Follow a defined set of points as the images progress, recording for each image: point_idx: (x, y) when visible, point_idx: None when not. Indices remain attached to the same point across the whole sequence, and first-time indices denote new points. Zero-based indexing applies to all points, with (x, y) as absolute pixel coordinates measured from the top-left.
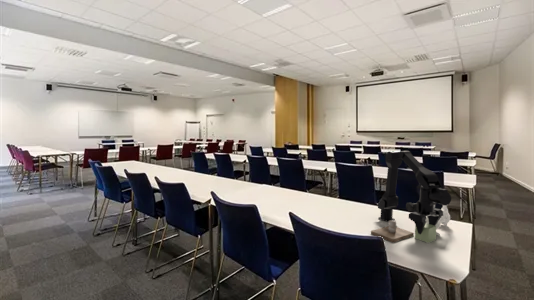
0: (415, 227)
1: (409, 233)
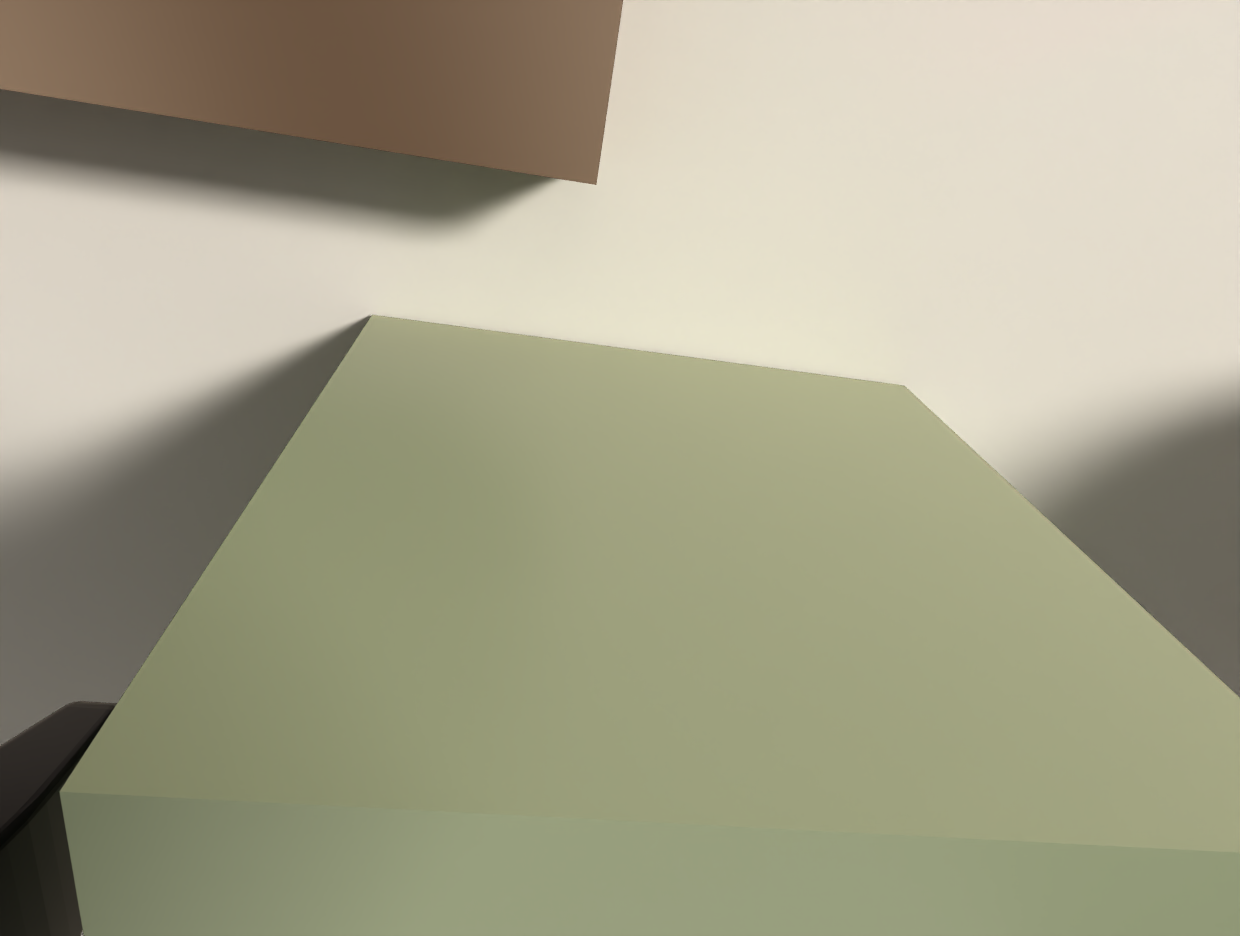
0: (192, 599)
1: (287, 66)
